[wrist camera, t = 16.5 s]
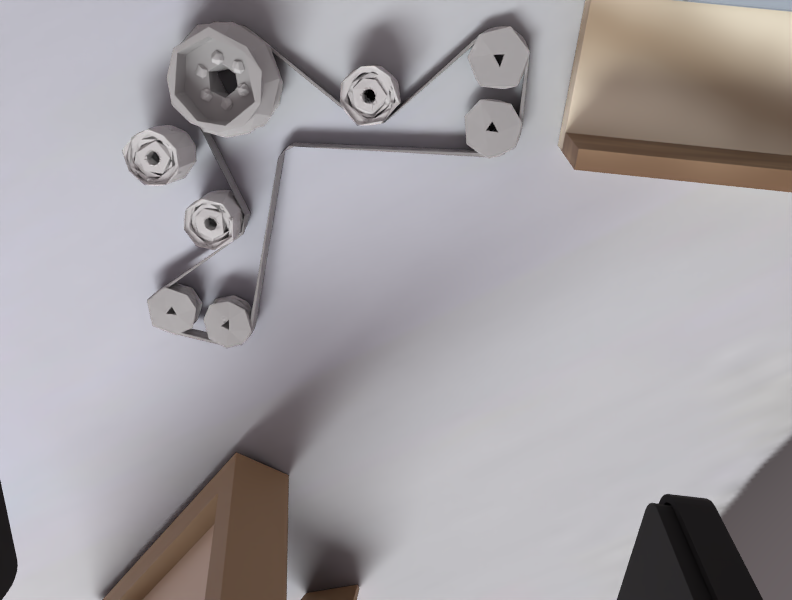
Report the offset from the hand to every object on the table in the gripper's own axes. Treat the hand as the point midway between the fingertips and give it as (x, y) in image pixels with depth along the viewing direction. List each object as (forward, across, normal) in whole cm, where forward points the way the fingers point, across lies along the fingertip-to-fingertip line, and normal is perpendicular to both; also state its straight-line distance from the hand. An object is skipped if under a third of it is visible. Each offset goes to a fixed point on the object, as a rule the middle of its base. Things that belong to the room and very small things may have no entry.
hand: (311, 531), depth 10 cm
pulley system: (+31, +7, +2) cm, 32 cm away
